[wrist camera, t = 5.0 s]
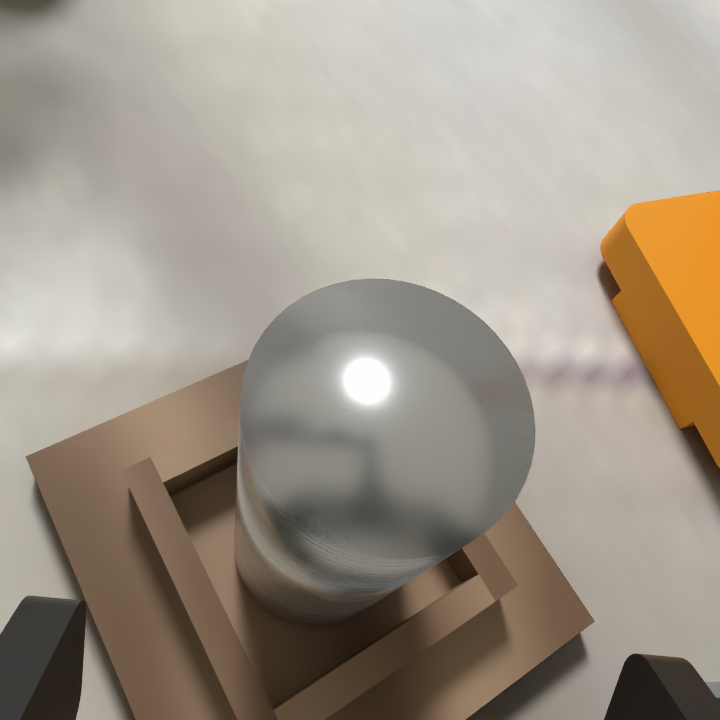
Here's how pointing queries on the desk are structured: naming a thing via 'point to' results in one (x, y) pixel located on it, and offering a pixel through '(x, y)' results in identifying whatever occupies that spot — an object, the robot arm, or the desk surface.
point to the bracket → (674, 301)
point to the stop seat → (247, 617)
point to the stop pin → (372, 446)
